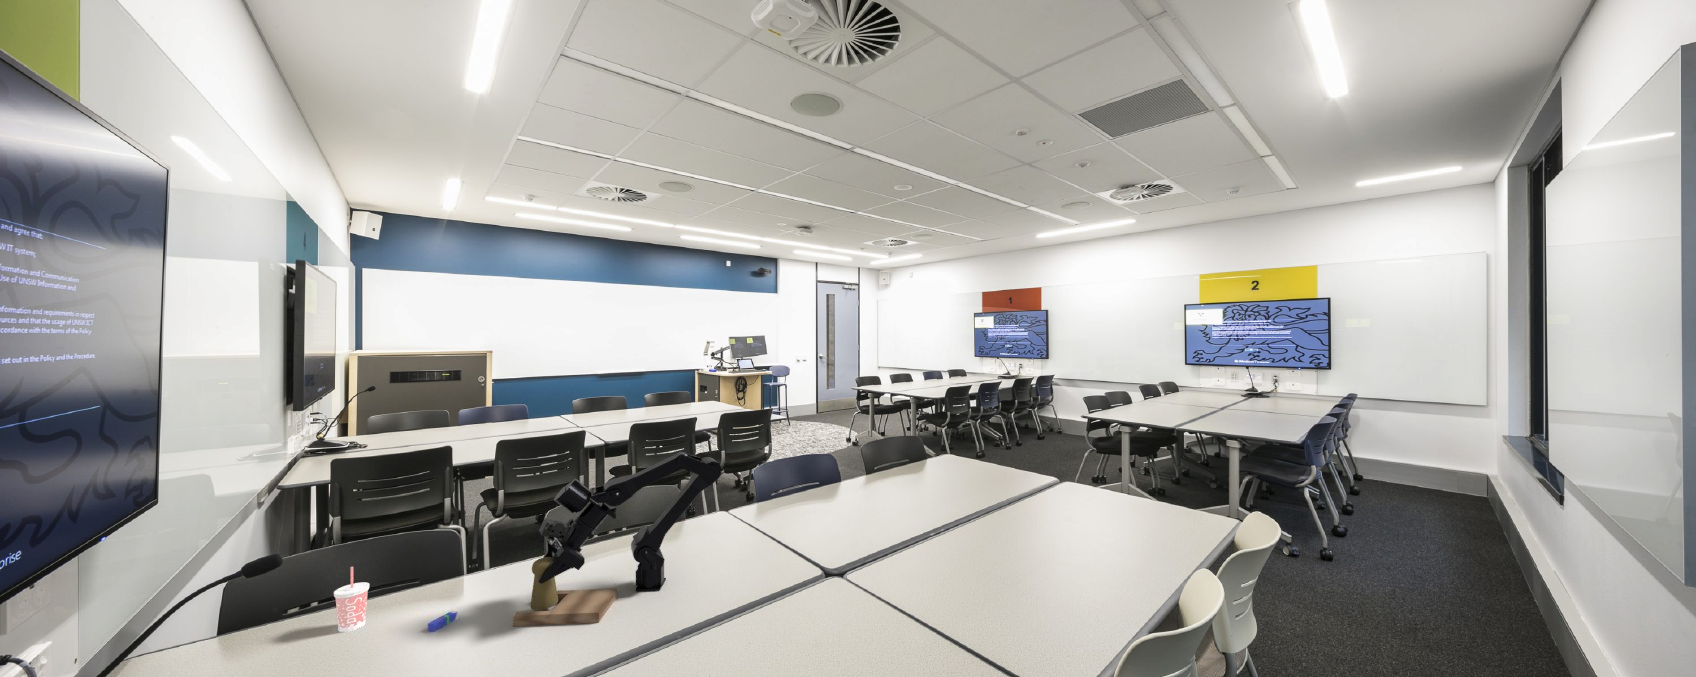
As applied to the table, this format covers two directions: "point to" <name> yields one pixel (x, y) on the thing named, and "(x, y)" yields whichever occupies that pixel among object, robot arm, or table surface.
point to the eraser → (442, 621)
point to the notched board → (571, 608)
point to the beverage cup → (351, 605)
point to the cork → (543, 587)
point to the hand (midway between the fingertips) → (537, 578)
